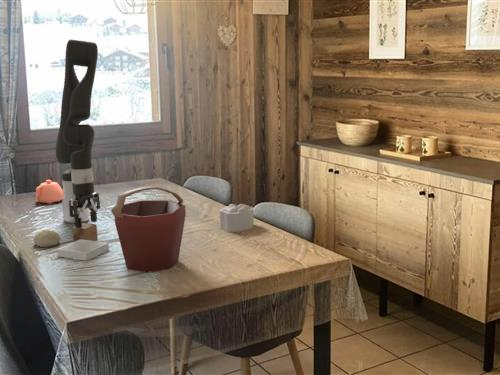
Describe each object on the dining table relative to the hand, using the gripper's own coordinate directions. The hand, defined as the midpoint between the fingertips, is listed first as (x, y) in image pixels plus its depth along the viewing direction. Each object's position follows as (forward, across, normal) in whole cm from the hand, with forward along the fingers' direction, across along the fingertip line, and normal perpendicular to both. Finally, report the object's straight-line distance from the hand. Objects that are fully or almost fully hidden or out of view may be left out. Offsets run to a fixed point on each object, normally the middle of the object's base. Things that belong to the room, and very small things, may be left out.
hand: (86, 224), depth 220 cm
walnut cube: (+6, 0, -1) cm, 6 cm away
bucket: (+7, +12, +34) cm, 37 cm away
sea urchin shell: (+7, +8, -12) cm, 16 cm away
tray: (+6, +11, +7) cm, 15 cm away
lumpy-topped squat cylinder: (+7, -36, +44) cm, 57 cm away
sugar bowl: (+5, -44, -56) cm, 71 cm away
